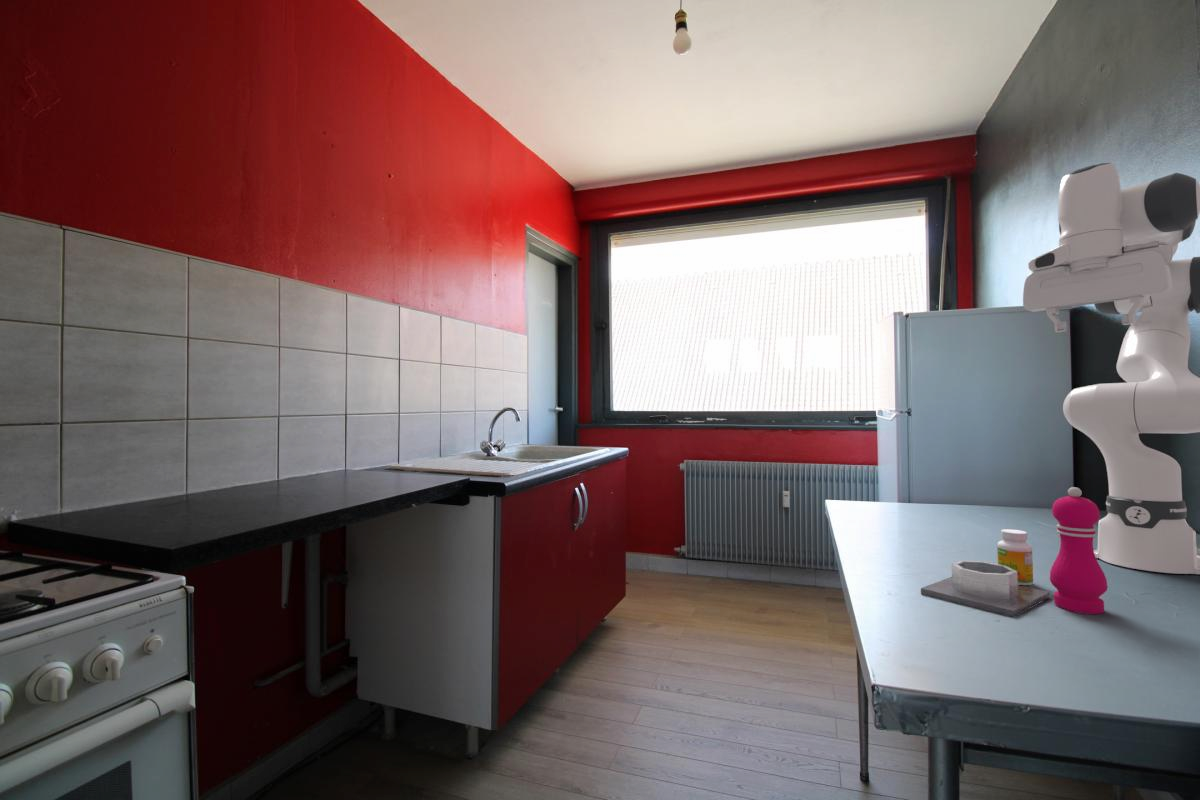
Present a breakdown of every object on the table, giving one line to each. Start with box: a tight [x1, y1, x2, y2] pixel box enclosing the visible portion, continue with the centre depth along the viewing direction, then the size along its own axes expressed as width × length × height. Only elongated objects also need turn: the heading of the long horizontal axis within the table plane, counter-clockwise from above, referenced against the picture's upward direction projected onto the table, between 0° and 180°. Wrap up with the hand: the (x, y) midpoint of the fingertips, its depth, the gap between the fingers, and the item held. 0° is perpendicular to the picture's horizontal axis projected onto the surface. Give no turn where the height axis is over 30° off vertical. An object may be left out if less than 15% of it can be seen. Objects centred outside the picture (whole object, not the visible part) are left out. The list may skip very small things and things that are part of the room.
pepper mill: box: [1049, 486, 1108, 615], centre depth 90 cm, size 7×7×20 cm
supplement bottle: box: [996, 528, 1034, 586], centre depth 104 cm, size 5×5×10 cm
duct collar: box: [920, 560, 1051, 618], centre depth 96 cm, size 16×14×5 cm
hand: (1093, 328), depth 99 cm, fingers open, 8 cm apart
